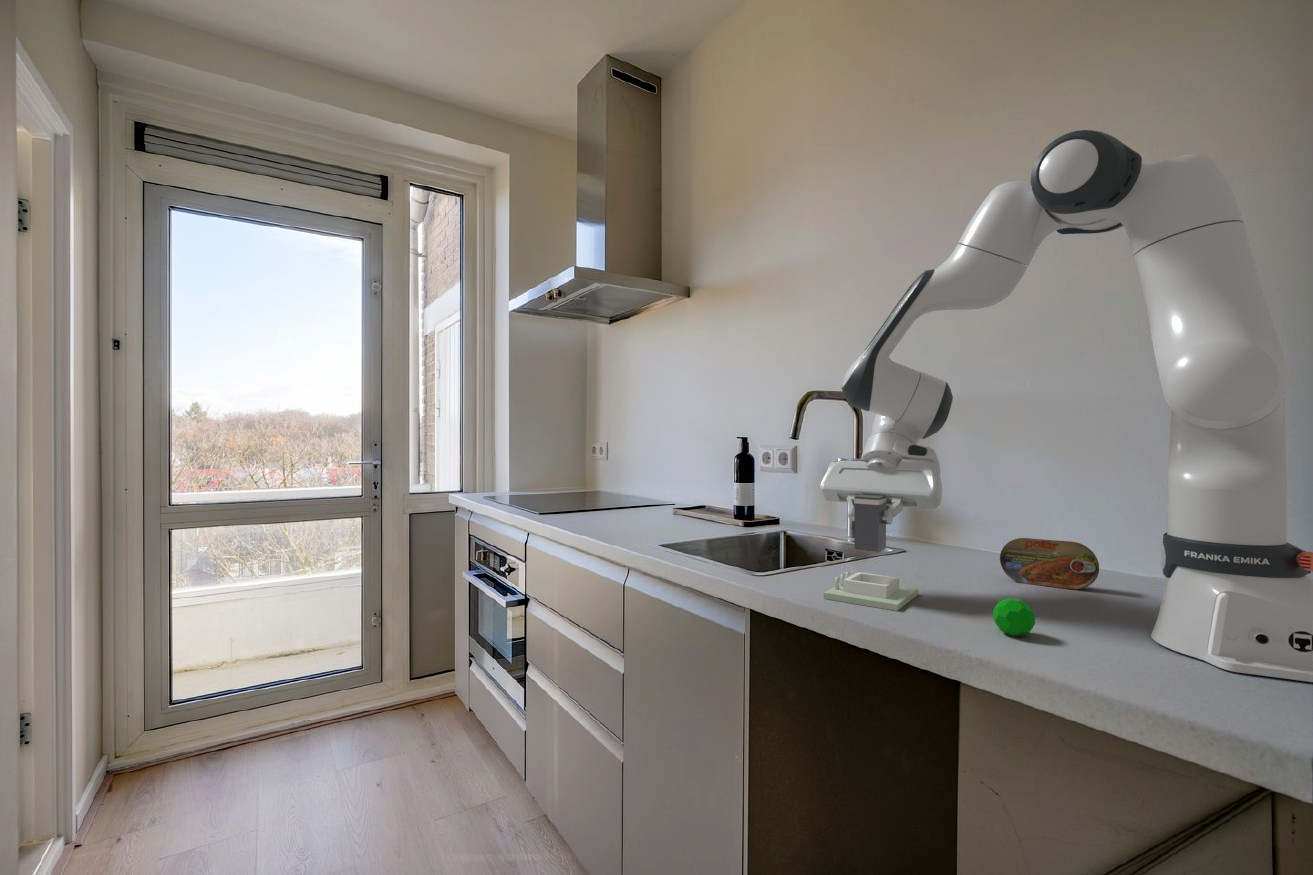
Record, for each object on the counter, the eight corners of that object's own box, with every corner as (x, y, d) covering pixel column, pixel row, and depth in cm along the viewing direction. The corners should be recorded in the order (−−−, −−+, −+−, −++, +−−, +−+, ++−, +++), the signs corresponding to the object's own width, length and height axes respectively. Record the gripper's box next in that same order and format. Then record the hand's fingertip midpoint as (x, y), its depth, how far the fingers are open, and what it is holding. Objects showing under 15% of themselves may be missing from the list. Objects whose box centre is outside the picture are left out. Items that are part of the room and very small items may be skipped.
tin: (999, 580, 113) (999, 535, 113) (1002, 577, 115) (1002, 533, 115) (1099, 593, 103) (1099, 544, 103) (1100, 589, 106) (1100, 541, 106)
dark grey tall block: (886, 548, 103) (886, 495, 103) (878, 552, 100) (878, 497, 100) (862, 545, 106) (862, 494, 105) (854, 549, 102) (854, 496, 102)
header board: (918, 594, 104) (918, 576, 104) (897, 611, 94) (897, 591, 94) (849, 583, 111) (849, 567, 111) (823, 598, 102) (823, 580, 102)
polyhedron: (1000, 626, 87) (1000, 593, 87) (1039, 634, 83) (1039, 599, 83) (988, 634, 83) (987, 599, 83) (1028, 643, 80) (1028, 607, 80)
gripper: (827, 447, 114) (805, 504, 107) (944, 449, 102) (929, 513, 94) (836, 469, 118) (816, 525, 110) (950, 474, 105) (936, 538, 98)
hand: (869, 520), depth 102 cm, fingers closed on dark grey tall block, 4 cm apart
